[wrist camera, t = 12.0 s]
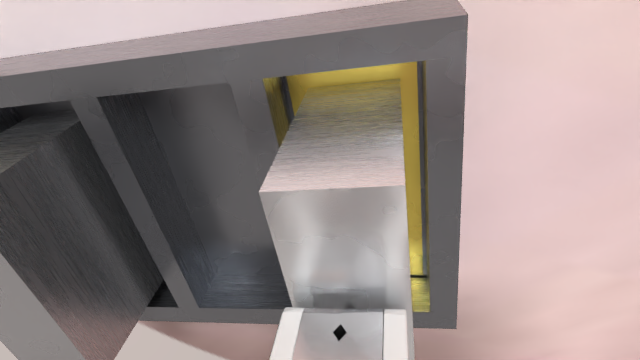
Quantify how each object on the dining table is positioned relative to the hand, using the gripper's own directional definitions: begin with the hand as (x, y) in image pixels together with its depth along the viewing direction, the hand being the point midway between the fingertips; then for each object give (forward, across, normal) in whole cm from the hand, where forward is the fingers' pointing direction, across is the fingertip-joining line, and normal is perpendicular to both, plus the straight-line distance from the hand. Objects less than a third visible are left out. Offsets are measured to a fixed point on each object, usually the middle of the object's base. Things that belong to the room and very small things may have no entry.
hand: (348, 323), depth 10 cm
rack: (+7, +6, 0) cm, 9 cm away
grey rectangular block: (+6, 0, 0) cm, 6 cm away
